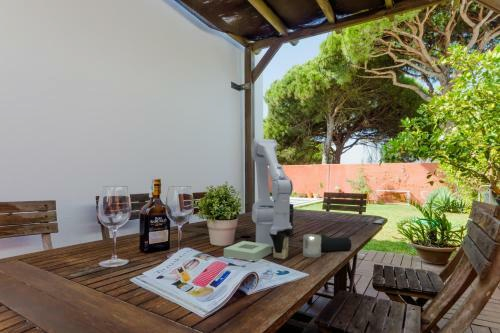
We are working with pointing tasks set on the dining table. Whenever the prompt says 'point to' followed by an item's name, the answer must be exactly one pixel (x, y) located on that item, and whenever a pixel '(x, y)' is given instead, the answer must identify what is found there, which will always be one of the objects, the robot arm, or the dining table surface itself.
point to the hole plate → (248, 250)
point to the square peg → (284, 250)
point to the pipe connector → (334, 243)
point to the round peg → (312, 245)
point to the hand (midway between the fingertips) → (280, 251)
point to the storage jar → (291, 218)
